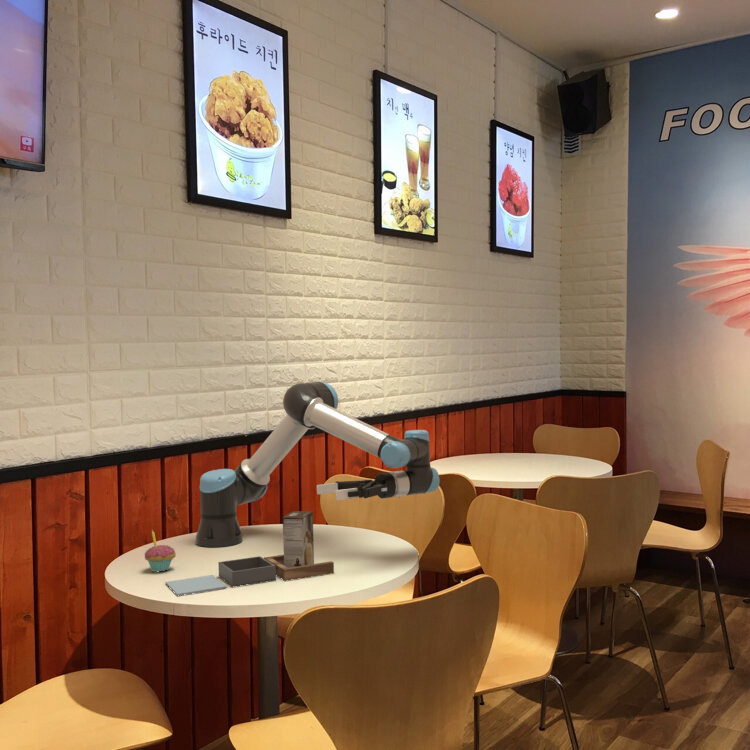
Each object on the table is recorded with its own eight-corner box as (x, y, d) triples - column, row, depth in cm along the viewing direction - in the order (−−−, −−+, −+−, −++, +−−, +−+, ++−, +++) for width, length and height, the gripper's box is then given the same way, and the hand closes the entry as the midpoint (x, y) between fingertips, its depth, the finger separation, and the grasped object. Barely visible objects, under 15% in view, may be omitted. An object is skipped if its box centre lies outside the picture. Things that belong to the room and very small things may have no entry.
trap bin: (218, 576, 219) (218, 562, 219) (260, 570, 225) (260, 556, 225) (232, 587, 208) (232, 572, 208) (275, 580, 214) (275, 565, 214)
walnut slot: (264, 567, 228) (263, 557, 228) (310, 560, 234) (310, 550, 234) (284, 581, 213) (284, 570, 213) (333, 573, 220) (333, 562, 220)
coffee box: (293, 565, 229) (292, 510, 229) (314, 566, 228) (313, 511, 228) (283, 574, 220) (282, 517, 220) (305, 575, 219) (304, 517, 219)
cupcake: (147, 575, 222) (145, 533, 222) (143, 568, 230) (142, 527, 229) (178, 571, 225) (177, 529, 225) (173, 564, 233) (172, 524, 233)
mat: (165, 584, 213) (165, 581, 213) (212, 577, 219) (212, 574, 219) (177, 596, 201) (177, 594, 201) (227, 588, 207) (226, 586, 207)
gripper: (412, 502, 227) (345, 511, 217) (372, 492, 249) (310, 500, 239) (411, 476, 227) (344, 484, 217) (371, 468, 249) (309, 475, 239)
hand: (326, 492), depth 228 cm, fingers open, 13 cm apart
